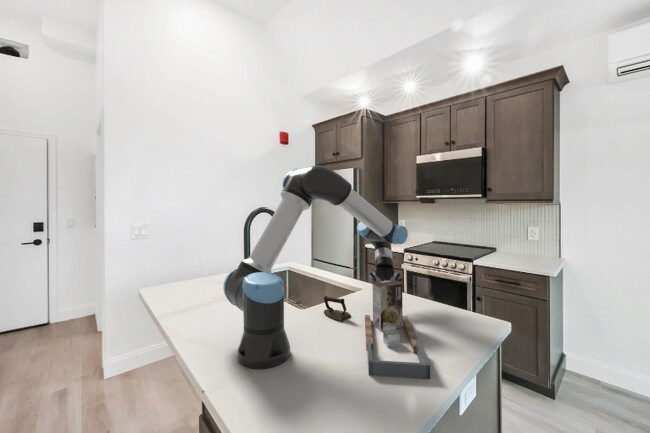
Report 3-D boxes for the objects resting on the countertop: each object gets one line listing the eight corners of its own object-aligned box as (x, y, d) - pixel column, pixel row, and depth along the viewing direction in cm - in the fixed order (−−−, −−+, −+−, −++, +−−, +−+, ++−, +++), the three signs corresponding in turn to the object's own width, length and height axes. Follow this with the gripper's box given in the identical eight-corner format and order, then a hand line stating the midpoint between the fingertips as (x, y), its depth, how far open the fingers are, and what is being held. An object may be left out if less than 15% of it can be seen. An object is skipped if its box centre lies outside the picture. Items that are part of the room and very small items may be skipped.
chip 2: (399, 347, 93) (400, 334, 93) (387, 348, 93) (387, 335, 92) (395, 341, 97) (395, 329, 97) (383, 342, 97) (383, 329, 96)
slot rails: (420, 353, 89) (420, 346, 89) (366, 350, 91) (366, 344, 91) (407, 321, 113) (407, 316, 113) (364, 319, 115) (364, 314, 114)
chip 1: (396, 339, 99) (396, 327, 98) (383, 338, 99) (384, 326, 99) (394, 333, 103) (394, 322, 102) (383, 333, 103) (383, 321, 103)
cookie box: (393, 321, 113) (393, 279, 113) (403, 327, 107) (403, 283, 106) (371, 324, 110) (372, 281, 110) (380, 331, 104) (380, 285, 103)
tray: (430, 378, 76) (430, 365, 76) (368, 375, 78) (368, 361, 78) (419, 353, 89) (419, 341, 89) (367, 350, 91) (367, 339, 91)
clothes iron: (342, 324, 112) (336, 298, 112) (320, 323, 119) (313, 299, 119) (352, 316, 118) (346, 291, 118) (330, 316, 124) (324, 293, 125)
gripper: (398, 265, 132) (403, 317, 117) (368, 265, 134) (369, 315, 118) (400, 255, 127) (405, 308, 111) (369, 255, 128) (370, 307, 112)
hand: (387, 312), depth 114 cm, fingers closed
